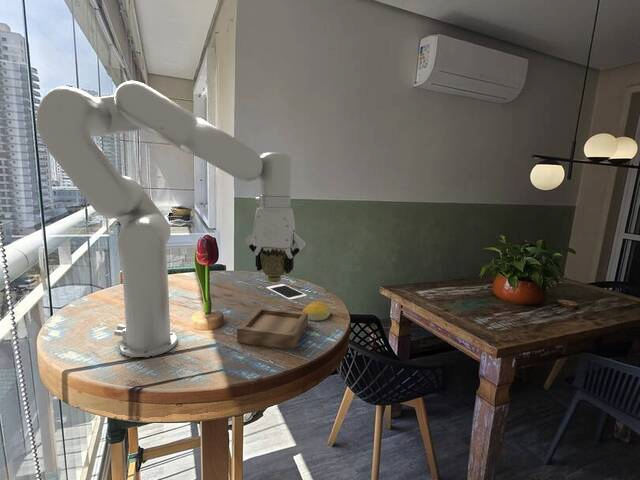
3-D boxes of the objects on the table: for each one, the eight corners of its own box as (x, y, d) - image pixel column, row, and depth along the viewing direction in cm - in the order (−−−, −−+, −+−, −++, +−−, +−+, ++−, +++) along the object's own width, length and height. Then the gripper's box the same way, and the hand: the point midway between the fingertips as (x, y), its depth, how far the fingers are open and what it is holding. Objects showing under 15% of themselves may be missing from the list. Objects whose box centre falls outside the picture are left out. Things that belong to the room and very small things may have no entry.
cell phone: (283, 285, 136) (283, 283, 136) (307, 296, 124) (307, 295, 124) (266, 288, 131) (266, 287, 131) (289, 301, 119) (289, 299, 119)
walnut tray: (237, 343, 88) (237, 328, 87) (258, 320, 102) (258, 307, 101) (293, 351, 85) (294, 335, 84) (307, 326, 99) (307, 312, 99)
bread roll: (298, 319, 104) (298, 306, 103) (310, 309, 112) (310, 297, 111) (323, 324, 101) (324, 311, 100) (333, 313, 109) (334, 301, 108)
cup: (261, 276, 93) (261, 248, 92) (288, 277, 94) (289, 248, 92) (258, 285, 86) (258, 254, 85) (287, 285, 87) (288, 254, 85)
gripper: (236, 202, 85) (237, 271, 88) (304, 205, 81) (302, 278, 84) (249, 200, 92) (249, 264, 95) (312, 203, 88) (310, 270, 91)
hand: (274, 270), depth 90 cm, fingers closed on cup, 7 cm apart
